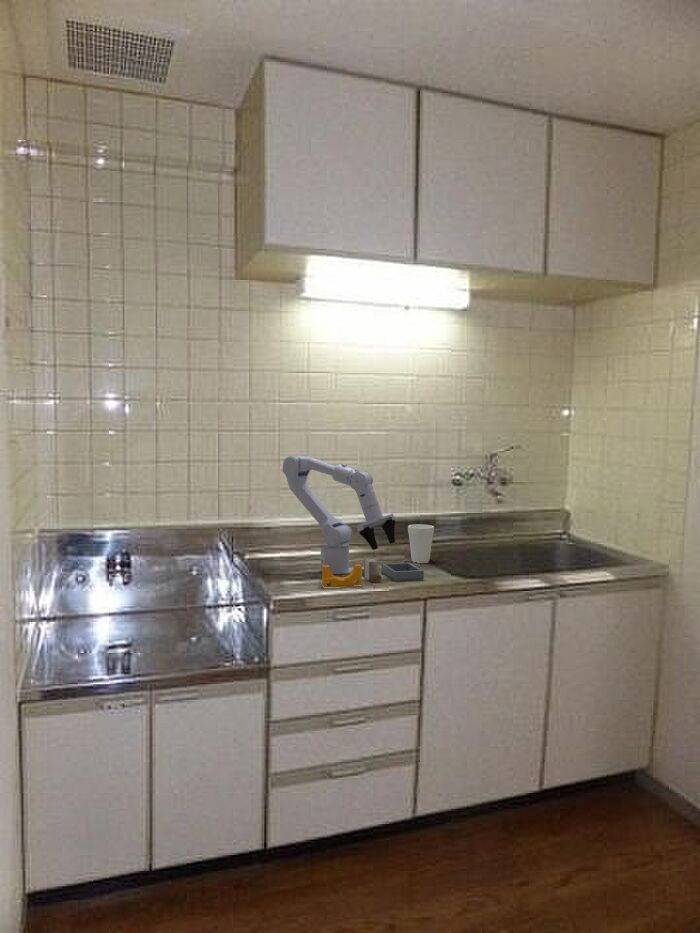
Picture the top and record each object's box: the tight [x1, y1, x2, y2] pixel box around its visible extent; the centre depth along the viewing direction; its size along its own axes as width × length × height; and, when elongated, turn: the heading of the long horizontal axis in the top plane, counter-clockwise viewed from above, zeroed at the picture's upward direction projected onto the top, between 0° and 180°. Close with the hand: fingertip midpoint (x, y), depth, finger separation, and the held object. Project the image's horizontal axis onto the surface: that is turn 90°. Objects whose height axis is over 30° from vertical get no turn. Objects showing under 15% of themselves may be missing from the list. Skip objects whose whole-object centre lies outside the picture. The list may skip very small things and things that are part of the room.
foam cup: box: [407, 524, 435, 564], centre depth 242 cm, size 10×9×13 cm
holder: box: [362, 568, 382, 584], centre depth 214 cm, size 3×11×2 cm, turn 16°
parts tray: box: [381, 562, 425, 582], centre depth 218 cm, size 10×13×3 cm
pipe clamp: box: [321, 563, 363, 588], centre depth 204 cm, size 12×4×6 cm, turn 101°
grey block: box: [363, 557, 380, 582], centre depth 214 cm, size 3×7×6 cm, turn 16°
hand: (384, 546), depth 215 cm, fingers open, 7 cm apart
